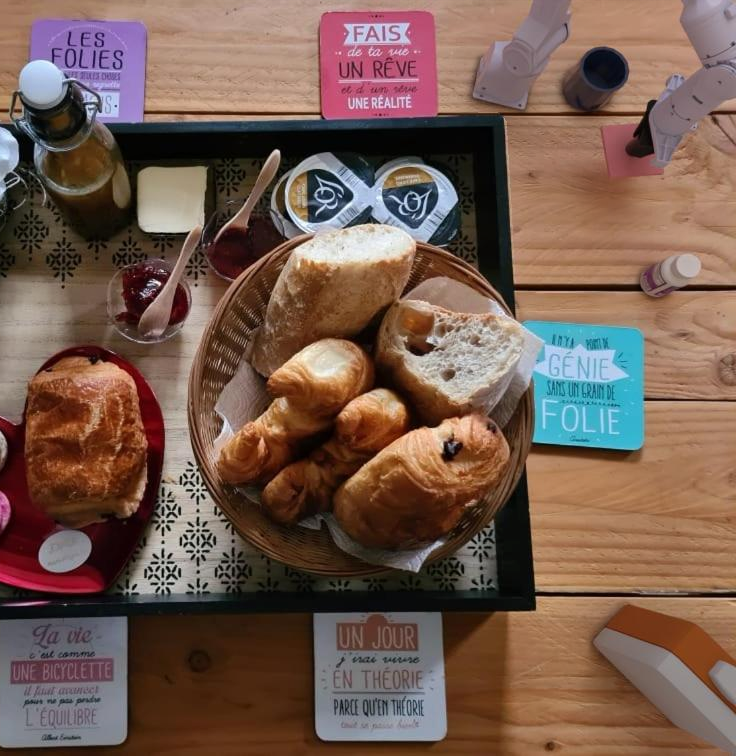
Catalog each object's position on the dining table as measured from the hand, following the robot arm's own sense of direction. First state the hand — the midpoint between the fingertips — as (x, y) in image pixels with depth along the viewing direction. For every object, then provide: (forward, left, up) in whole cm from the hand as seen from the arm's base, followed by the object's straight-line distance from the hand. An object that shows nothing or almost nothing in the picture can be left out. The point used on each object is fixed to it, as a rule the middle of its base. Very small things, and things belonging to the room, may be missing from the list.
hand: (637, 146), depth 119 cm
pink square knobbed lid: (0, 0, -2) cm, 2 cm away
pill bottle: (+12, -18, -10) cm, 23 cm away
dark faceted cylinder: (-6, +14, -10) cm, 19 cm away
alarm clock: (+22, -80, -10) cm, 83 cm away
